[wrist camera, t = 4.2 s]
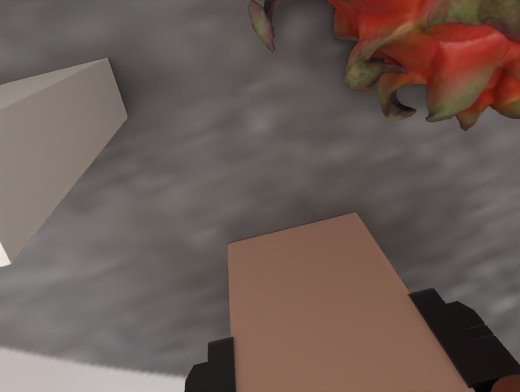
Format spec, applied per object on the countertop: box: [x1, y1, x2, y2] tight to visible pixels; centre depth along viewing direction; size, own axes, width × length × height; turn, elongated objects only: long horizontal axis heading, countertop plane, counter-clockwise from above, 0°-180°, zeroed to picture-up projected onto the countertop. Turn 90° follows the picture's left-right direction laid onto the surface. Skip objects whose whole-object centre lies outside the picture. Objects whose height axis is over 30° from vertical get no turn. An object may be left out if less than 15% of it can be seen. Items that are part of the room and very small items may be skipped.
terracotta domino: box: [227, 212, 475, 392], centre depth 14 cm, size 2×5×10 cm, turn 103°
